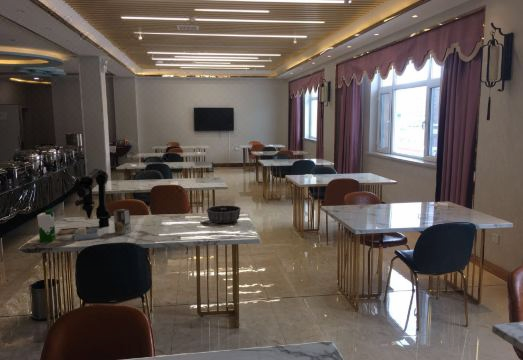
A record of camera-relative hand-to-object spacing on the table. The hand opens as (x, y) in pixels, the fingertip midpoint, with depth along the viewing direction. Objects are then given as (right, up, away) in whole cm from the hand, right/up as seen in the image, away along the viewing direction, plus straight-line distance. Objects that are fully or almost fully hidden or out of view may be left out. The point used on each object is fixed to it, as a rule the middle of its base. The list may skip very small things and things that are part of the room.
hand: (89, 217), depth 295 cm
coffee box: (+20, -12, +10) cm, 25 cm away
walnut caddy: (-16, -11, +12) cm, 23 cm away
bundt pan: (+87, -7, +41) cm, 97 cm away
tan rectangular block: (-5, -13, -1) cm, 14 cm away
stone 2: (0, -1, 0) cm, 1 cm away
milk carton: (-24, -15, -9) cm, 29 cm away
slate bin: (-2, -13, 0) cm, 13 cm away
